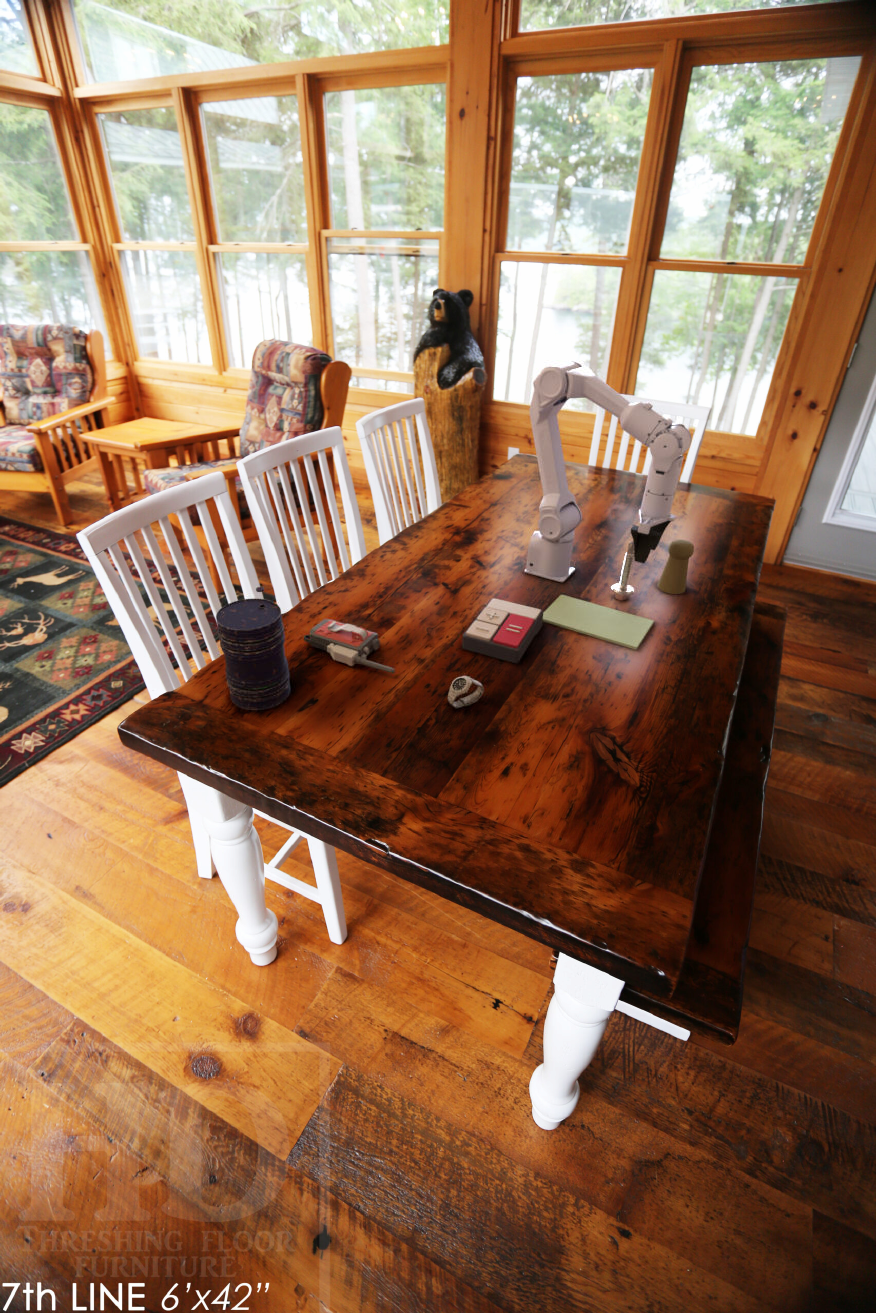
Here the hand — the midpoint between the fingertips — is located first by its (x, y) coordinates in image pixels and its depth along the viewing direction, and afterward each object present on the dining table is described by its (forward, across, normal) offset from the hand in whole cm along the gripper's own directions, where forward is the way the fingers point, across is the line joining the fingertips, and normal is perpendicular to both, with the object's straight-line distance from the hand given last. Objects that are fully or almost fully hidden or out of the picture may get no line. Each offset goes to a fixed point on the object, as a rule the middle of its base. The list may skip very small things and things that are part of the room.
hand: (645, 555), depth 133 cm
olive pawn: (+10, +10, -5) cm, 15 cm away
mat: (+10, -14, +4) cm, 18 cm away
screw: (+10, -1, +3) cm, 11 cm away
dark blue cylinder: (+11, -68, +43) cm, 81 cm away
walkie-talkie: (+11, -50, +37) cm, 63 cm away
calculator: (+10, -30, +17) cm, 36 cm away
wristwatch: (+10, -52, +13) cm, 55 cm away
